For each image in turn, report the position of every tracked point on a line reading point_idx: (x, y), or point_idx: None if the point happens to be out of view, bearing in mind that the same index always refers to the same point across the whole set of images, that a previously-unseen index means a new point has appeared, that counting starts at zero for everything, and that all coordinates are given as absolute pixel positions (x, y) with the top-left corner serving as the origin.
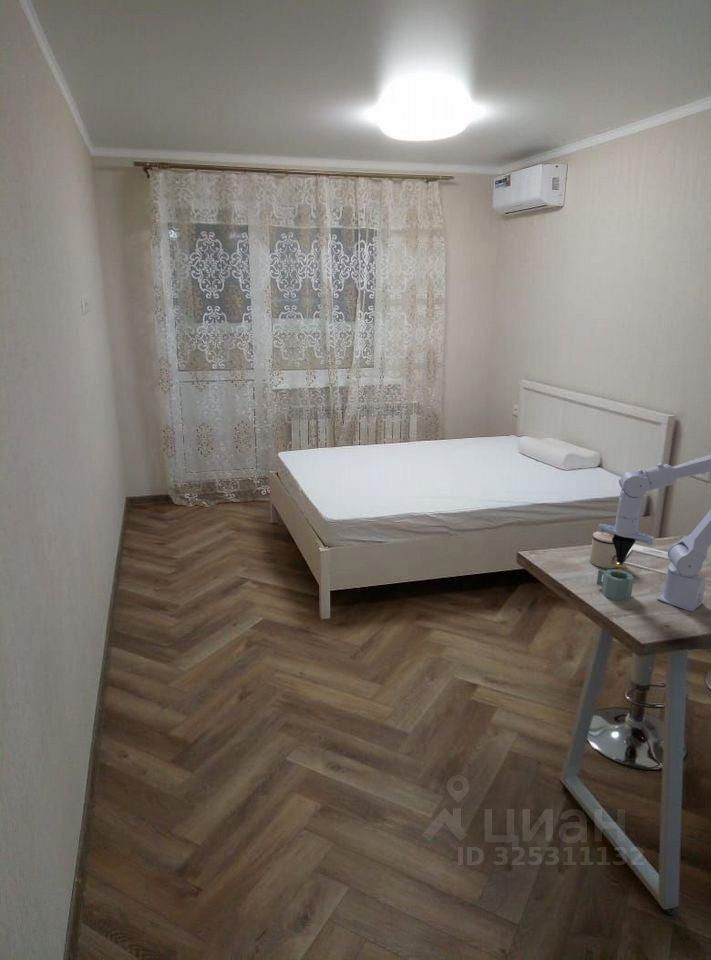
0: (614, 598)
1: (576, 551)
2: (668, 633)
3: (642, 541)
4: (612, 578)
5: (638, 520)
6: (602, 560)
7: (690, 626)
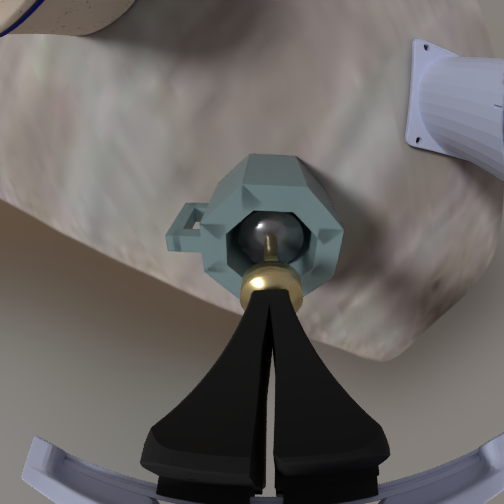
0: None
1: None
2: (436, 309)
3: (432, 474)
4: None
5: None
6: (89, 22)
7: (480, 248)
